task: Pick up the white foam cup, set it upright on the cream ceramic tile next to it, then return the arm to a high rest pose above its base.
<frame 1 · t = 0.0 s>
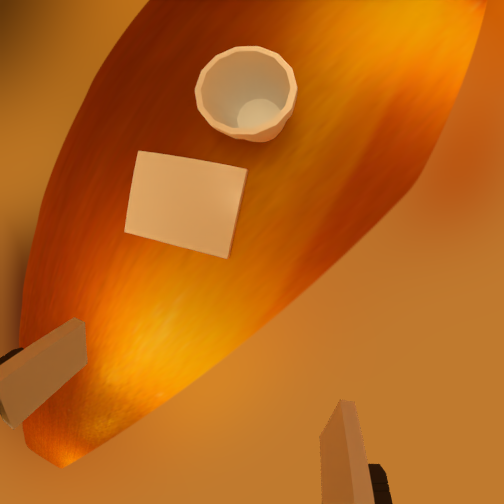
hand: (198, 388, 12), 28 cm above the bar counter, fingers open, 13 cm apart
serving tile: (183, 201, 40), on the bar counter
foam cup: (260, 120, 36), on the bar counter
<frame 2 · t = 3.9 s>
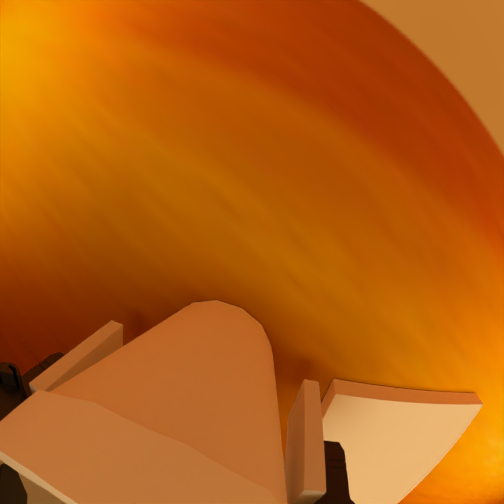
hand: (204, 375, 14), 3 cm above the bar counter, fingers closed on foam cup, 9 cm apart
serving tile: (364, 463, 17), on the bar counter
foam cup: (217, 348, 16), on the bar counter, touching gripper
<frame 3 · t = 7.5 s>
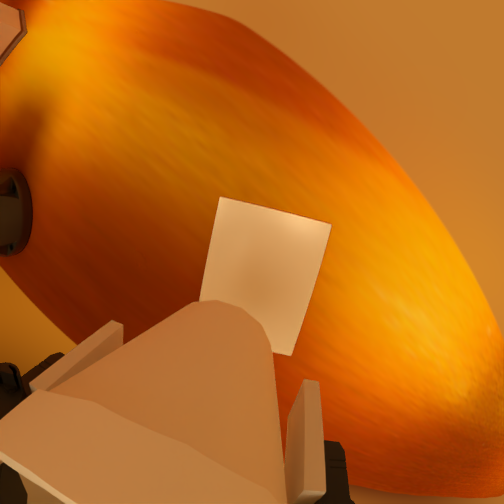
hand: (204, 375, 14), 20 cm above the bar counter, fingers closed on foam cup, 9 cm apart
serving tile: (259, 278, 33), on the bar counter
foam cup: (217, 348, 16), point 17 cm above the bar counter, touching gripper
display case: (9, 40, 30), on the bar counter
when the fingers open (6 cm above the bar counter, at t = 11.2 s): foam cup drops 1 cm, resting on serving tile.
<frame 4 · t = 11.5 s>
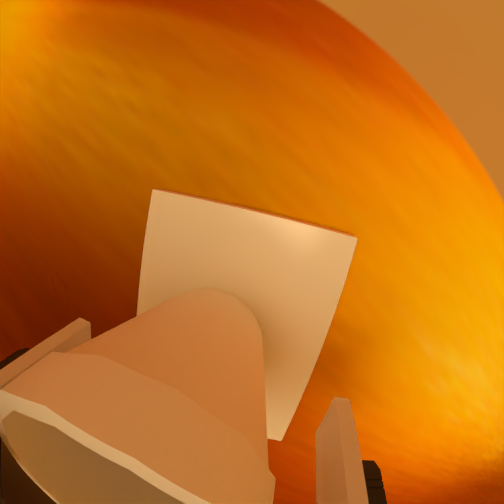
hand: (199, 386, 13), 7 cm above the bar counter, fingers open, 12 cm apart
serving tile: (227, 328, 19), on the bar counter
foam cup: (212, 333, 18), point 1 cm above the bar counter, touching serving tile
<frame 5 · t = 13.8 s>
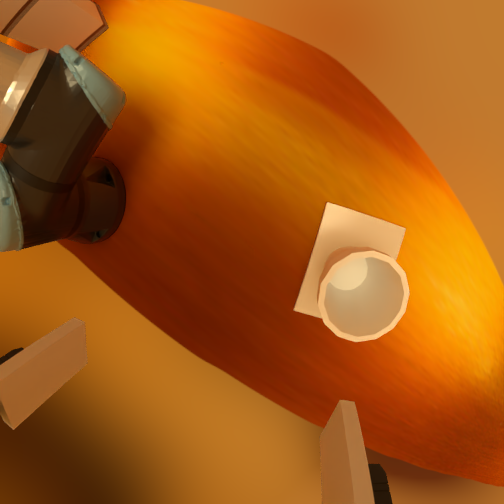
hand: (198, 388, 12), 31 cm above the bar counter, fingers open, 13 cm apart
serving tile: (349, 267, 41), on the bar counter
foam cup: (346, 268, 39), point 1 cm above the bar counter, touching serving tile
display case: (84, 33, 41), on the bar counter
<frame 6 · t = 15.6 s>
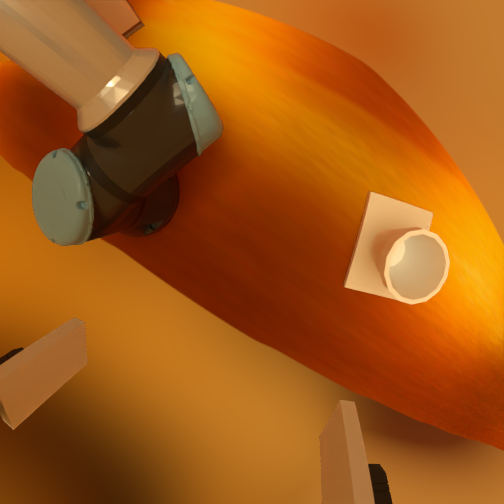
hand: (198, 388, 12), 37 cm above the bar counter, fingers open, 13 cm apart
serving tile: (388, 247, 45), on the bar counter
foam cup: (387, 247, 44), point 1 cm above the bar counter, touching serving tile
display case: (115, 29, 43), on the bar counter
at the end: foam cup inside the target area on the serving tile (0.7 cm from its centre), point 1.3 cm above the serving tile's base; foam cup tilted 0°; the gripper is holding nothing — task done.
